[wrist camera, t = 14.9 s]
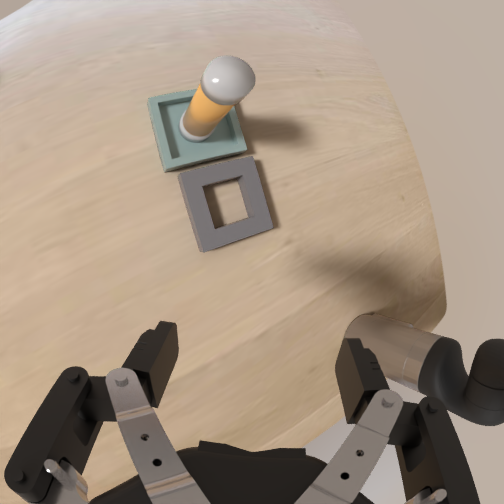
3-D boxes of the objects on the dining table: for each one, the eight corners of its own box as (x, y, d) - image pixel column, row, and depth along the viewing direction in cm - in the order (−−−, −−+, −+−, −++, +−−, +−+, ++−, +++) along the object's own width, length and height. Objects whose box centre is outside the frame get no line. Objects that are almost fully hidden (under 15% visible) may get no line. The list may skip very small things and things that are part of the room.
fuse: (207, 109, 34) (247, 54, 22) (216, 139, 35) (261, 94, 22) (174, 115, 33) (201, 57, 20) (183, 146, 34) (213, 99, 21)
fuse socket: (246, 159, 38) (252, 156, 36) (266, 228, 40) (273, 227, 38) (177, 176, 34) (180, 173, 32) (199, 251, 36) (203, 252, 34)
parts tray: (222, 91, 36) (227, 85, 34) (241, 153, 38) (247, 149, 36) (147, 104, 32) (148, 97, 30) (164, 172, 33) (166, 168, 32)
